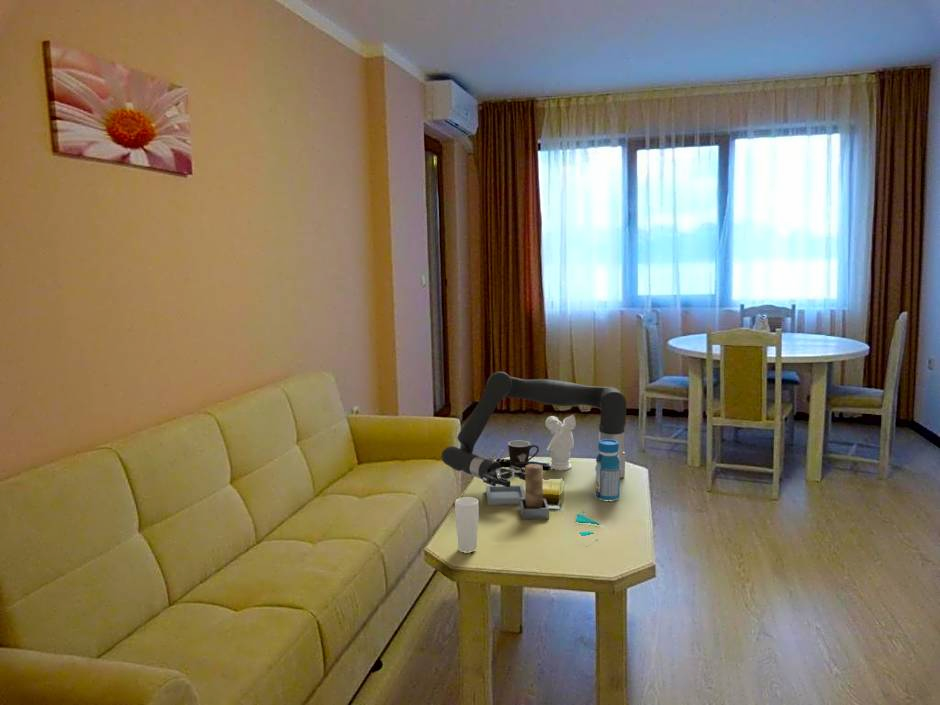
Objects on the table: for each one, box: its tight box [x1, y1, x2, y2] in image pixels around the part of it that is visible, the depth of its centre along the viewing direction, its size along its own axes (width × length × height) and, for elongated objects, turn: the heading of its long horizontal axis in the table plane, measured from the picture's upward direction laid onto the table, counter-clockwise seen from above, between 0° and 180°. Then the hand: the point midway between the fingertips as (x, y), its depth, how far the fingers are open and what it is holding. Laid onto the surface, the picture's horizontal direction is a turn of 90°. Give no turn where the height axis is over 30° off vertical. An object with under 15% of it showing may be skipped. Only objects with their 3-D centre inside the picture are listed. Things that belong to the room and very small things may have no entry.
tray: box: [485, 484, 525, 506], centre depth 240 cm, size 13×13×2 cm
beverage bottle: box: [595, 439, 621, 502], centre depth 239 cm, size 8×8×20 cm
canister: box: [524, 463, 544, 508], centre depth 225 cm, size 6×6×16 cm
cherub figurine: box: [544, 414, 577, 472], centre depth 272 cm, size 12×12×22 cm
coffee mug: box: [507, 439, 540, 468], centre depth 271 cm, size 12×9×10 cm
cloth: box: [574, 510, 601, 536], centre depth 215 cm, size 26×14×2 cm, turn 161°
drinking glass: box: [454, 496, 480, 552], centre depth 201 cm, size 7×7×15 cm
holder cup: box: [518, 498, 550, 521], centre depth 226 cm, size 9×9×4 cm
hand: (519, 480), depth 229 cm, fingers open, 8 cm apart
